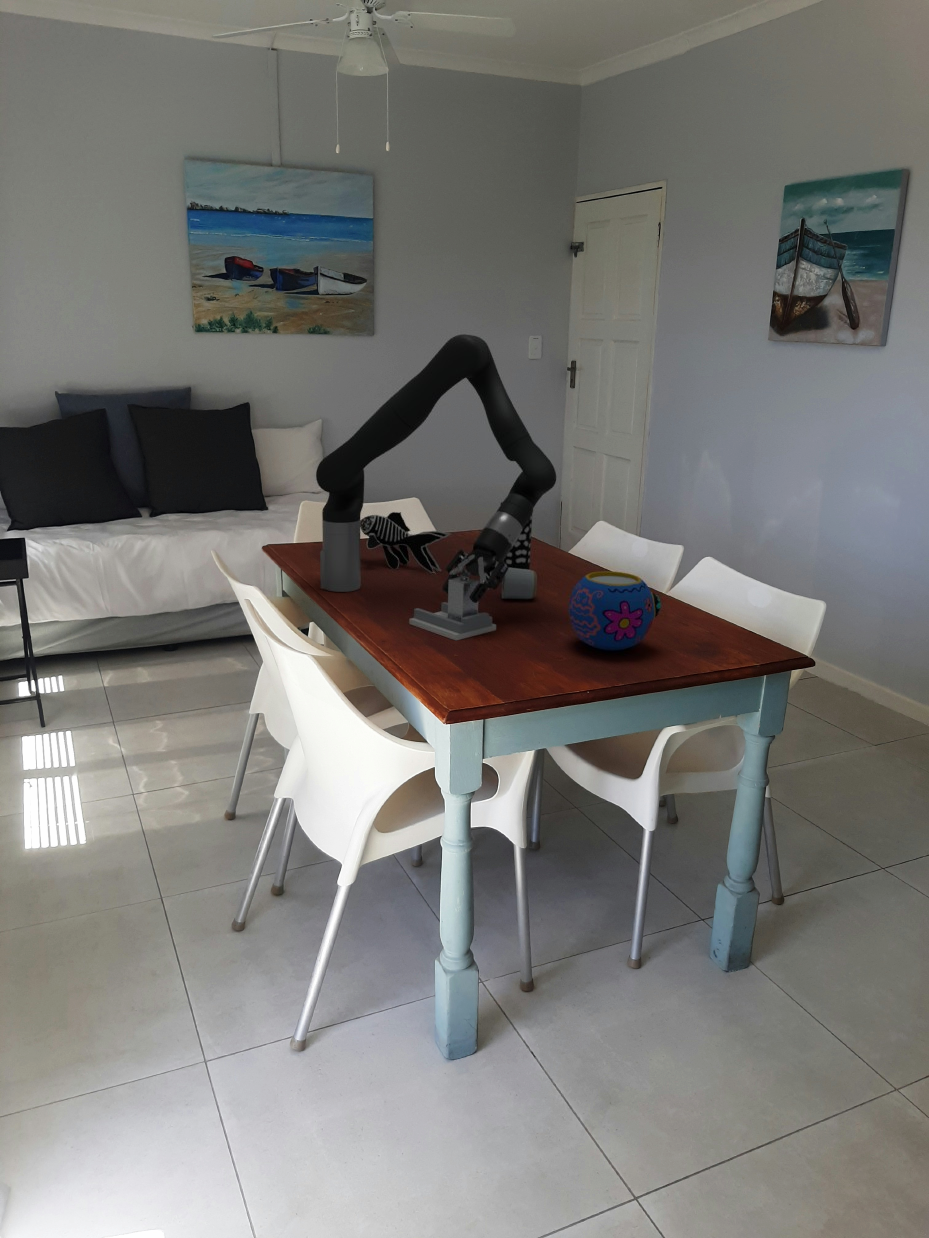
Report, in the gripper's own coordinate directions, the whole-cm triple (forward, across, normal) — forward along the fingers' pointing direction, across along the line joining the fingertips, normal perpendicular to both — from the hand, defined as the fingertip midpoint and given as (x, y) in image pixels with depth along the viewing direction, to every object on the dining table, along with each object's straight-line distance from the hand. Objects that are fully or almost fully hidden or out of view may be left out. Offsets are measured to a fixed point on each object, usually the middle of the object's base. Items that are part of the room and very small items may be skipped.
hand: (458, 596), depth 207 cm
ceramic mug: (-16, -12, +28) cm, 34 cm away
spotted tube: (-25, -24, +36) cm, 50 cm away
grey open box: (+5, -3, +6) cm, 9 cm away
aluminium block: (+4, 0, +6) cm, 7 cm away
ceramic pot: (-7, +28, +18) cm, 34 cm away
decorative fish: (-14, -51, +25) cm, 59 cm away
